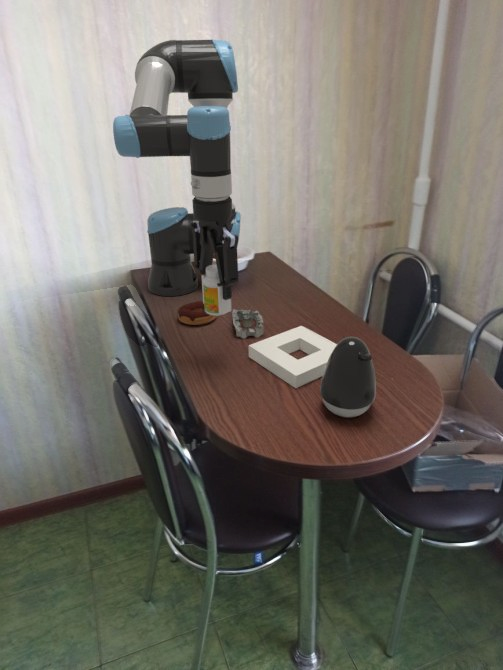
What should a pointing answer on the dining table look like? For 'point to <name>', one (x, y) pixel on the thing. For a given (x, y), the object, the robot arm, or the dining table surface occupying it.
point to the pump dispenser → (349, 379)
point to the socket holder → (285, 366)
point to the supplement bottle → (211, 290)
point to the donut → (194, 314)
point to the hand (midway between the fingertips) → (217, 306)
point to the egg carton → (247, 323)
